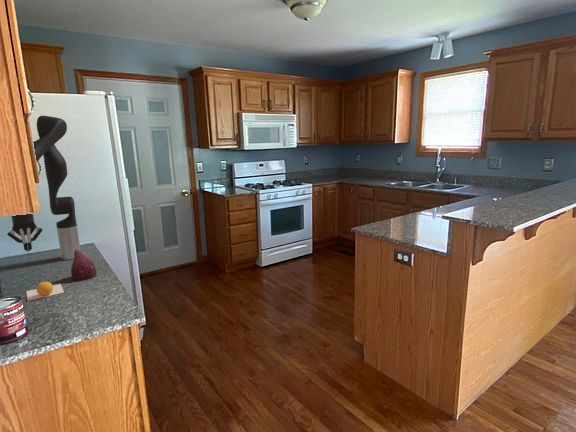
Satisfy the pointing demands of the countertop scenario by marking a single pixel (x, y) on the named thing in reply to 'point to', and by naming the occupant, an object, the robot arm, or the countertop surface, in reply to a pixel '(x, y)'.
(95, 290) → the countertop surface
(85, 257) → the vegetable
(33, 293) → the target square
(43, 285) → the ball
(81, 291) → the countertop surface
